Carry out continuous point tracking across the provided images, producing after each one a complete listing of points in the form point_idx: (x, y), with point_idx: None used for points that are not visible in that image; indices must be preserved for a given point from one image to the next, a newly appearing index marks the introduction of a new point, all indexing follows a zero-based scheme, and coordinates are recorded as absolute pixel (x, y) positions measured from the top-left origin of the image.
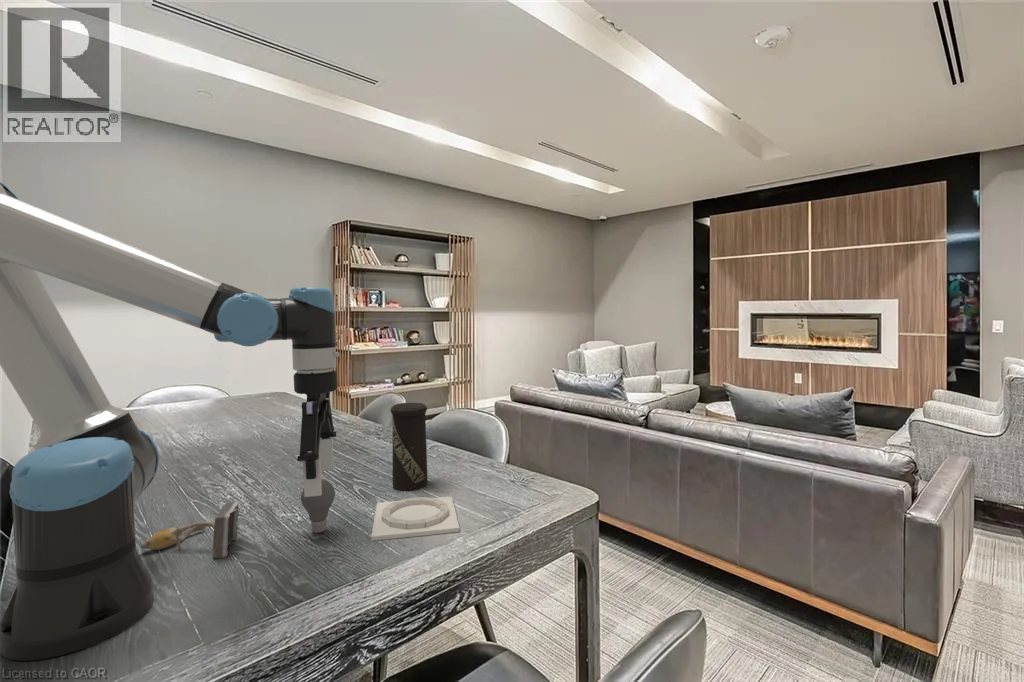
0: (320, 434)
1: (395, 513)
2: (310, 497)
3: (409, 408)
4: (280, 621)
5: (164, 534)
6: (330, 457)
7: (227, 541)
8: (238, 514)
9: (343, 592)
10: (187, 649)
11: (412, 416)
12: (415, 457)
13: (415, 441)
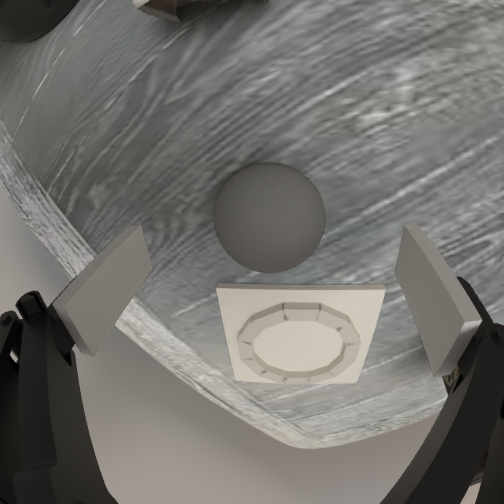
0: (90, 444)
1: (314, 321)
2: (214, 210)
3: (473, 482)
4: (38, 202)
5: None
6: (411, 300)
7: None
8: None
9: (85, 256)
10: (7, 131)
11: None
12: (447, 388)
13: None
